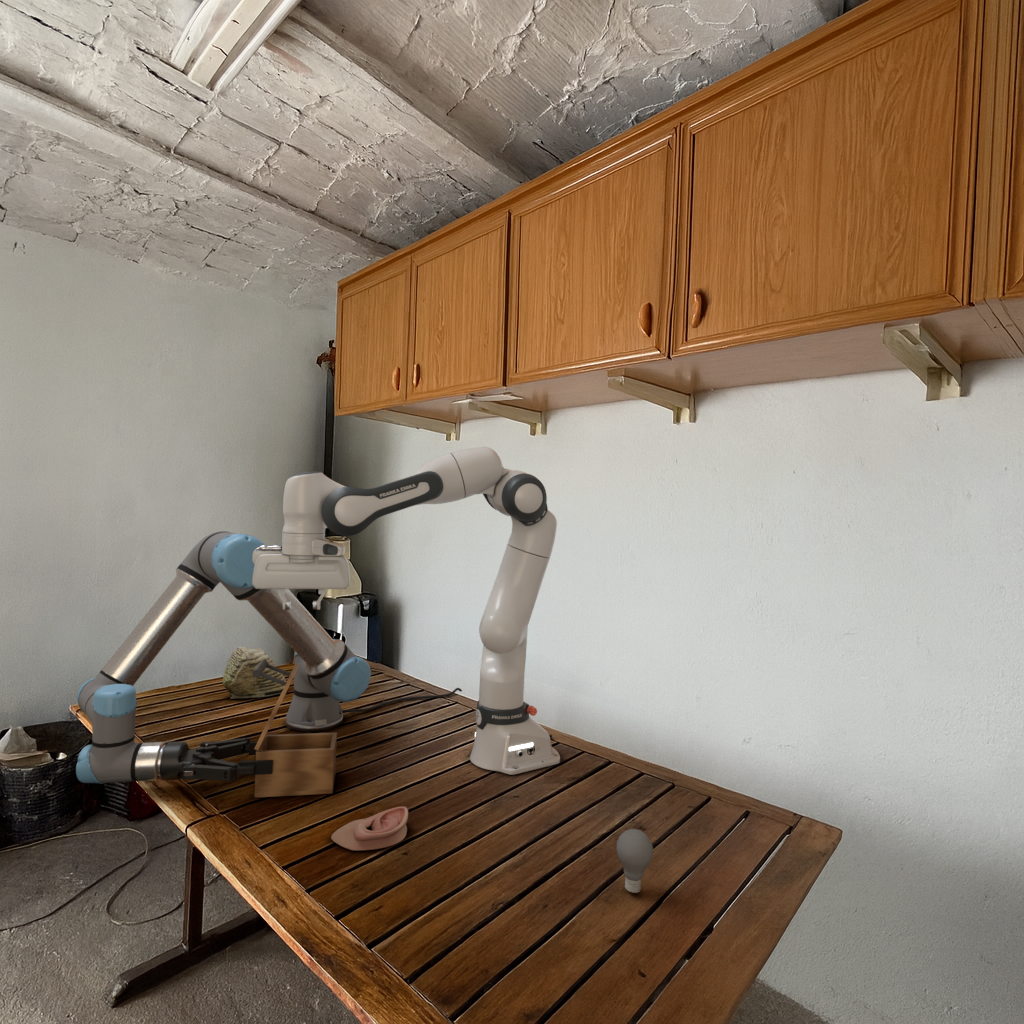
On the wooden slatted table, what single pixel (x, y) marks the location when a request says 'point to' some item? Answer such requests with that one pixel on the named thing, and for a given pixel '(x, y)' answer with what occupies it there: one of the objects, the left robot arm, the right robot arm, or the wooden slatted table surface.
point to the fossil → (250, 675)
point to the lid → (258, 673)
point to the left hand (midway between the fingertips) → (276, 756)
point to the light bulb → (634, 857)
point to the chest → (297, 764)
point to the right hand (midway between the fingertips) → (301, 609)
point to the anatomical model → (374, 830)
